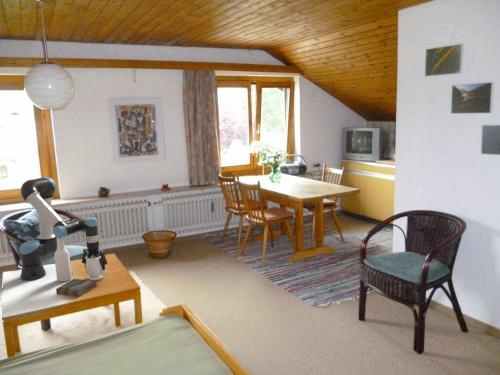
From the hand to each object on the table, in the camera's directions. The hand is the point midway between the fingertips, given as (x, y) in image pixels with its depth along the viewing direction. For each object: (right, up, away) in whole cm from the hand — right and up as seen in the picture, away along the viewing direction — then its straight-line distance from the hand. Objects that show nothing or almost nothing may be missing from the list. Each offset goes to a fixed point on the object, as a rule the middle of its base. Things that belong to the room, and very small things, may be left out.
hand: (95, 273), depth 282 cm
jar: (0, -3, +1) cm, 3 cm away
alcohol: (-20, -4, -1) cm, 20 cm away
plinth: (-5, -6, -19) cm, 20 cm away
